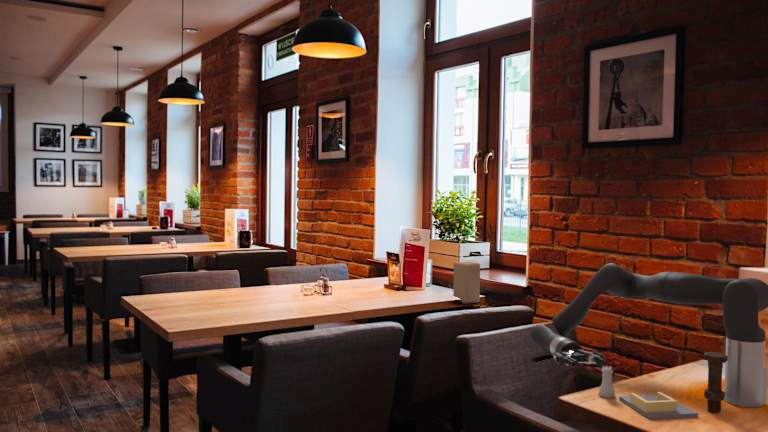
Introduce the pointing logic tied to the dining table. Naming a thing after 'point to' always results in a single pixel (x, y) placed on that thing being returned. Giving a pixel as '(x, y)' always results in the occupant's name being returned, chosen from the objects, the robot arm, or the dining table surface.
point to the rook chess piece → (606, 383)
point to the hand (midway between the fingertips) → (589, 364)
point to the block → (467, 281)
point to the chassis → (657, 406)
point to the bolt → (714, 380)
